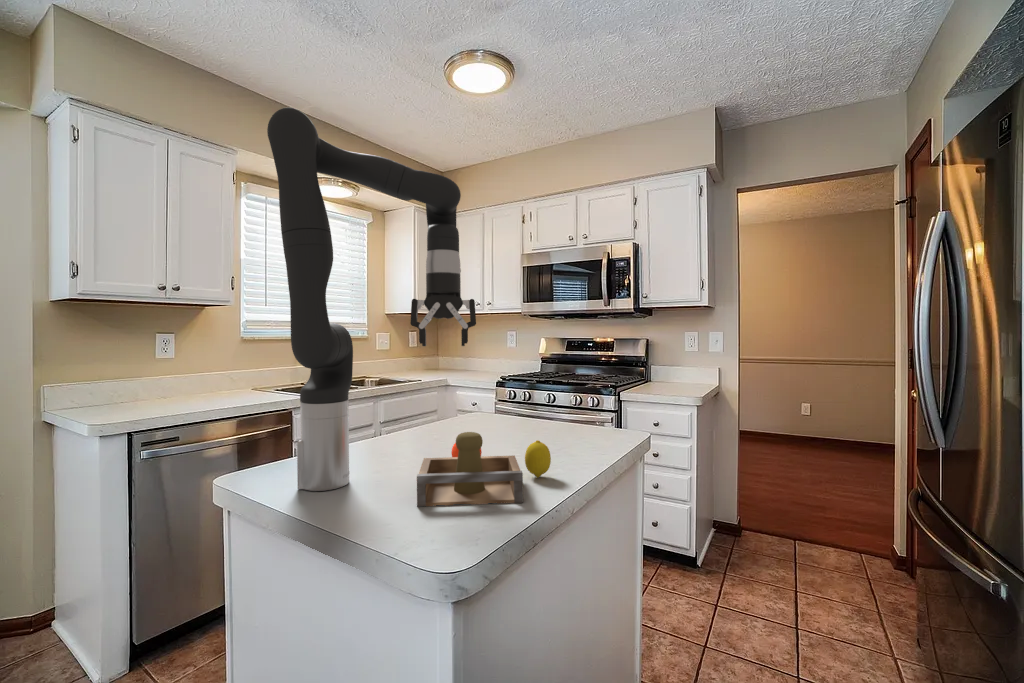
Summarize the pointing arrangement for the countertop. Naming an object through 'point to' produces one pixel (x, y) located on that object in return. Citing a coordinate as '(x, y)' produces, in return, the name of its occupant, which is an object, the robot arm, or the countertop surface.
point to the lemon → (537, 458)
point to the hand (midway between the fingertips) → (443, 346)
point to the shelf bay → (497, 477)
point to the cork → (469, 461)
